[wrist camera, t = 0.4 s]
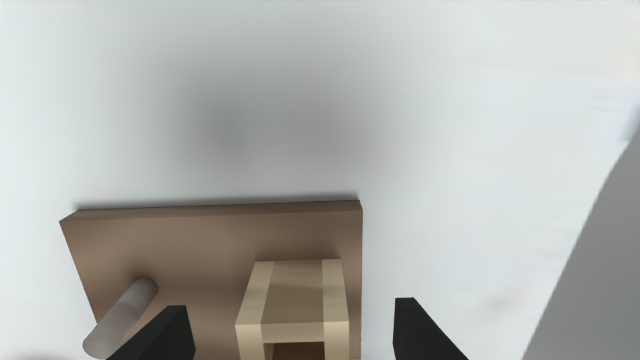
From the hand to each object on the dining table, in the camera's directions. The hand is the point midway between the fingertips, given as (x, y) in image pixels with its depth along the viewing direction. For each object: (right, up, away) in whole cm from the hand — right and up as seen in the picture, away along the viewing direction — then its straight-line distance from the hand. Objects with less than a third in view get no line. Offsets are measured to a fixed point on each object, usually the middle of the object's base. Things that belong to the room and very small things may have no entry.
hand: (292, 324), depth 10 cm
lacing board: (-5, -2, +11) cm, 12 cm away
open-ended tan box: (0, -3, +9) cm, 10 cm away
